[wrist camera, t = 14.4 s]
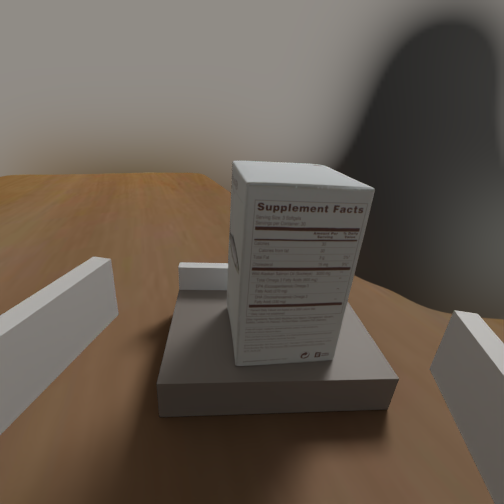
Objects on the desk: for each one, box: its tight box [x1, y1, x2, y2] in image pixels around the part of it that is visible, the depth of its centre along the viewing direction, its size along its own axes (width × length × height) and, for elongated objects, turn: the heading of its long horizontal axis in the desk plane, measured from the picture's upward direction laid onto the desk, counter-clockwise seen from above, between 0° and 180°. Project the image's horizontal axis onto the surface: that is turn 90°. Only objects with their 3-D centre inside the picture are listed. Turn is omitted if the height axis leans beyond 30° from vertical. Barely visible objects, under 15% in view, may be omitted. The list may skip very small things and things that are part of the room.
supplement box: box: [227, 161, 375, 366], centre depth 21 cm, size 7×7×13 cm
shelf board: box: [157, 262, 399, 417], centre depth 25 cm, size 16×12×5 cm
